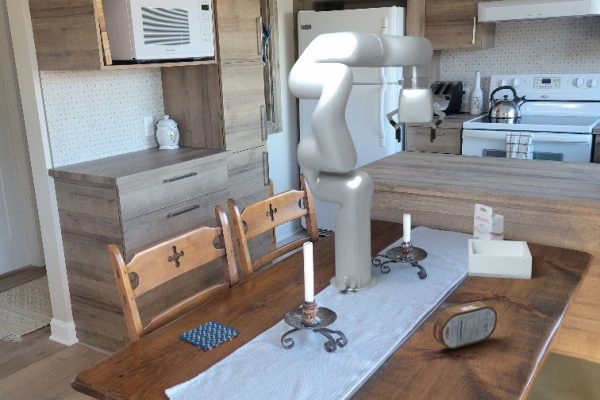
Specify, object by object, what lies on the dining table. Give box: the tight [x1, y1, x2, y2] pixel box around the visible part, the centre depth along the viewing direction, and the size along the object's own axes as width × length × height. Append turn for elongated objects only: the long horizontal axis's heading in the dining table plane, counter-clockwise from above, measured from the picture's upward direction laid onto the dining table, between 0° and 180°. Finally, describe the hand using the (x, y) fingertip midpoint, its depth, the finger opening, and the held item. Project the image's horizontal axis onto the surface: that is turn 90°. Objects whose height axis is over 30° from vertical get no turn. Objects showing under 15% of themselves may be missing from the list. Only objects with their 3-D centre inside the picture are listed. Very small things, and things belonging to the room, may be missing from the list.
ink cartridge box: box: [472, 203, 505, 240], centre depth 176 cm, size 9×5×15 cm, turn 22°
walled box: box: [467, 238, 533, 280], centre depth 162 cm, size 15×16×6 cm
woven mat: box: [178, 320, 242, 353], centre depth 126 cm, size 10×11×2 cm
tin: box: [432, 300, 498, 350], centre depth 119 cm, size 15×3×8 cm, turn 114°
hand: (415, 141), depth 173 cm, fingers open, 9 cm apart
